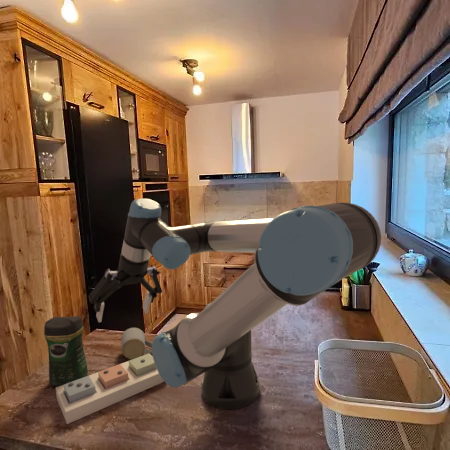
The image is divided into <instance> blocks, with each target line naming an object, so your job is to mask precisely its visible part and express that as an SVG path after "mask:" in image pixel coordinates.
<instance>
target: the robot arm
mask: <svg viewBox="0 0 450 450" xmlns="http://www.w3.org/2000/svg"><path fill="white" fill-rule="evenodd" d="M161 216H162V207H161V204H160V203H158V202H157V201H155V200H152V199H150V198H137V199H134V200H132V202H131V204H130V207H129V211H128V213H127V219H126V220H127V221H126V225H125V231H124V238H123V241H122V242H123V243H122V247H121V253H120V257H119V261H118V262H119V263H118V267H117V269H116V270H111V269H110V268H106V269H105V272H104V274H103V276H102V277H101V279H100V280H99V282H97V284H96V285H95V287H94V288H93V289H92V290H91V292H90V293H89V295H88V299H89V303H90V304H92V305H93V304H94V306H93V309H94V312H95V313H96V314H95V317H96V319H97V322H98V323H102V320H103V314H104V309H105V301H106V300H107V299H109V297H110V296H111V295H113V294H114V293H115V292H116V291H117V290H119V289H122V287H124V286H129V285H137V284H138V283H140V284H141V286H143V287H144V289H146V290H147V291H145V296H144V300H143V304H142V309H143V312H144V314H145V315H147V314H149V310H150V306H151V304H152V303H154V300H155V298H157V296H158V295H159V294H162V293H163V290H162V287H161V283H160V280H159V278H158V269H157V268H156V265H155V264H151V265H149V263H150V259H151V256H152V257H153V258H154V260H155V261H156V262H158V263H159V264H161V265H162V266H163V267H164V268H166V269H167V270H176V269H178V268H179V267H180V266H181V265H182V266H183V265H184V264H186V263H187V261H188V260H189V258H190V256H192V255H196V254H200V253H206V252H210V253H211V252H212V253H213V252H214V253H216V252H223V253H250V254H251V253H253V254H254V257H253V262H254V263H253V264H251V266H249V267H248V268H247V269H246V270H245V271H244V272H243V273H242V274H241V275H240V276H239V277H238V278H236V280H234V281H233V282H231V284H230V285H228V287H226V289H224V290H223V291H222V292H221V293H220V294H219V295H218V296H217V297H216V298H215V299H214V300H212V301H211V302H210V303H208V304H206V305H205V307H204V308H203V310H201V312H192V313H190V314H188V315H186V316H185V317H184V318H182V319H181V320H180V322H178V323H177V324H176V325H175V326H174V327H172V328H171V329H169V330H166V331H161V332H160V333H159V334H158V335H156V336H154V338H153V339H152V342H151V343H152V348H151V350H152V354H151V355H152V357H153V359H154V363H155V366H156V368H157V370H158V373H159V374H160V376H161V378H162V379H163V380H164V381H165V384H166V385H167V386H168V387H170V388H172V389H177V388H180V387H182V386H186V385H187V384H188V383H189V382H191V381H192V380H194V379H196V378H197V377H200V376H201V375H202V374H204V375H203V378H202V380H201V395H202V398H203V399H204V401H205V402H206V403H208V404H209V405H211V406H212V407H215V408H219V409H221V410H222V409H223V410H224V409H225V410H235V409H241V408H244V407H246V406H249V405H250V404H252V403H254V402H255V400H257V398H258V396H259V394H260V379H259V377H258V375H257V371H256V370H255V366H254V364H253V359H252V355H253V354H252V330H253V329H254V328H255V327H257V326H258V325H260V324H261V323H263V322H264V321H265V320H267V319H268V318H270V317H271V316H272V315H274V314H275V313H277V312H278V311H280V310H281V309H282V308H283V307H285V306H286V305H290V306H297V307H299V306H303V305H306V304H308V303H309V302H310V301H311V300H313V299H315V298H317V297H318V296H319V295H321V294H322V293H324V292H325V291H326V290H328V289H330V288H331V287H332V286H334V285H335V284H337V283H339V282H340V281H343V280H344V279H345V278H347V277H349V276H351V275H352V274H353V275H354V273H356V272H358V271H361V270H362V269H364V268H365V267H367V266H368V265H370V264H371V263H372V262H373V260H374V259H375V258H376V257H377V255H378V254H379V250H380V247H381V244H382V231H381V228H380V225H379V223H378V221H377V220H376V218H375V216H374V215H373V214H372V213H371V212H369V211H368V210H367V209H366V208H364V207H363V206H361V205H358V204H356V203H351V202H337V203H335V202H334V203H328V204H327V203H326V204H322V205H302V206H298V207H293V208H291V209H290V210H286V211H284V212H282V213H279V214H278V215H277V216H275V217H270V218H269V217H268V218H254V219H253V218H252V219H242V220H240V219H239V220H224V221H215V220H214V221H213V220H212V221H205V222H201V223H194V224H187V225H180V226H173V227H172V226H169V225H168V224H167V223H166V222H164V220H163V219H161ZM149 266H150V267H149ZM148 274H149V276H150V277H151V279H152V281H153V282H152V283H153V285H154V287H153V286H152V284H150V283H149V281H147V280H146V278H145V276H147V275H148Z"/></svg>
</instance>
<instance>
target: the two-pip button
mask: <svg viewBox="0 0 450 450" xmlns="http://www.w3.org/2000/svg"><path fill="white" fill-rule="evenodd" d="M121 364H122V363H119V364H116V365H114V366H111V367H108V368H106V369H103V370H100V371H98V376H99V381H100V383H101V384H102V386H103V387H104V389H107V388H110V387H112V386H114V385H117V384H119V383H122V382H124V381H127V380H128V373H127V371H126V370H125V369H124V368H123V367H122V366H121Z"/></svg>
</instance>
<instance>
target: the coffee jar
mask: <svg viewBox="0 0 450 450" xmlns="http://www.w3.org/2000/svg"><path fill="white" fill-rule="evenodd" d="M82 319H83V318H82V317H81V316H80V315H75V316H53V317H51V318H49V319H48V320H47V321H45V323H44V327H43V328H44V329H43V331H44V332H43V337H44V338H45V341H46V344H47V345H46V346H47V350H48V351H47V352H48V380H49V381H48V382H49V384H50V385H51V386H53V387H59V386H62V385H64V384H67V383H70V382H72V381H75V380H78V379H80V378H83V377H86V376H88V373H89V369H88V363H87V359H86V355H85V349H84V344H83V332H84V324H83V320H82Z"/></svg>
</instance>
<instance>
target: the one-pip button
mask: <svg viewBox="0 0 450 450" xmlns="http://www.w3.org/2000/svg"><path fill="white" fill-rule="evenodd" d="M150 355H151V354H150ZM150 355H149V354H146V353H145V354H144V355H143V354H142V355H141V356H140V357H138V358H135V359H129V360H128V361H129V368H130V369H131V371H132V372H133V373H134V374H135V375H136V376H139V375H142V374H144V373H147V372H149V371H152V370H154V369H157V368H156V366H155V363H154V359H153V356H152V355H151V356H152V357H151V356H150Z"/></svg>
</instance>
